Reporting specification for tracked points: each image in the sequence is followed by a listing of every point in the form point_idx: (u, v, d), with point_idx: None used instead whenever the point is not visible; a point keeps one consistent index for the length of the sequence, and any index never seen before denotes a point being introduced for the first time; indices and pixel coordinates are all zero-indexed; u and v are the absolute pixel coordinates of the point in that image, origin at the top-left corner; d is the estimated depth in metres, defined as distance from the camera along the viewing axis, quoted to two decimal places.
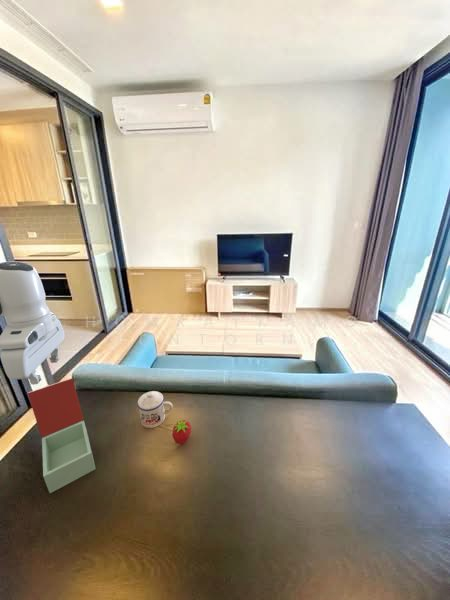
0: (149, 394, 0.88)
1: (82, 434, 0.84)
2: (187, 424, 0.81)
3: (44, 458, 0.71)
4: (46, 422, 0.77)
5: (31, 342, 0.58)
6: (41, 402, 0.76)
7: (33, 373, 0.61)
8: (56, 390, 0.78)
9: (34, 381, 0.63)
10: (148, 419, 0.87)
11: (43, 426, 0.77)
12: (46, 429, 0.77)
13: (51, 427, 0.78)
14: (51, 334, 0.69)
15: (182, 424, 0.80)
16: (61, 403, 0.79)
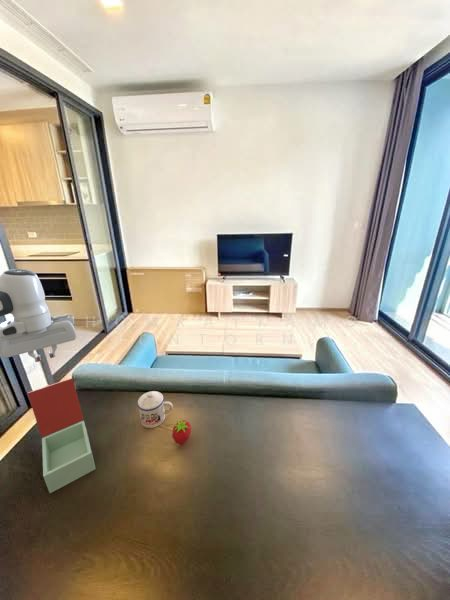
0: (149, 394, 0.88)
1: (82, 434, 0.84)
2: (187, 424, 0.81)
3: (44, 458, 0.71)
4: (46, 422, 0.77)
5: (6, 334, 0.72)
6: (41, 402, 0.76)
7: (29, 353, 0.78)
8: (56, 390, 0.78)
9: (35, 359, 0.80)
10: (148, 419, 0.87)
11: (43, 426, 0.77)
12: (46, 429, 0.77)
13: (51, 427, 0.78)
14: (53, 332, 0.80)
15: (182, 424, 0.80)
16: (61, 403, 0.79)
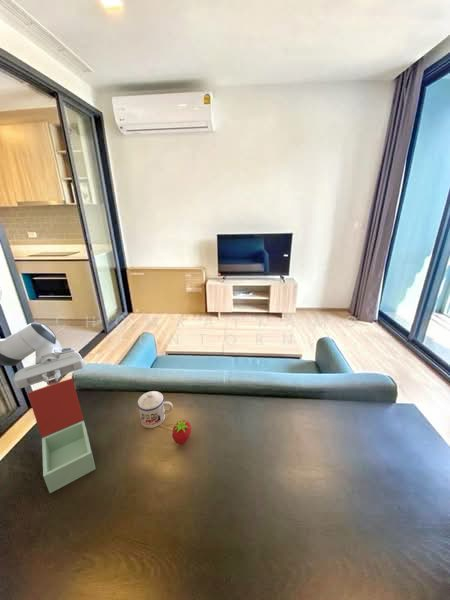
0: (149, 394, 0.88)
1: (82, 434, 0.84)
2: (187, 424, 0.81)
3: (44, 458, 0.71)
4: (46, 422, 0.77)
5: None
6: (41, 402, 0.76)
7: None
8: (56, 390, 0.78)
9: (57, 378, 0.84)
10: (148, 419, 0.87)
11: (43, 426, 0.77)
12: (46, 429, 0.77)
13: (51, 427, 0.78)
14: None
15: (182, 424, 0.80)
16: (61, 403, 0.79)
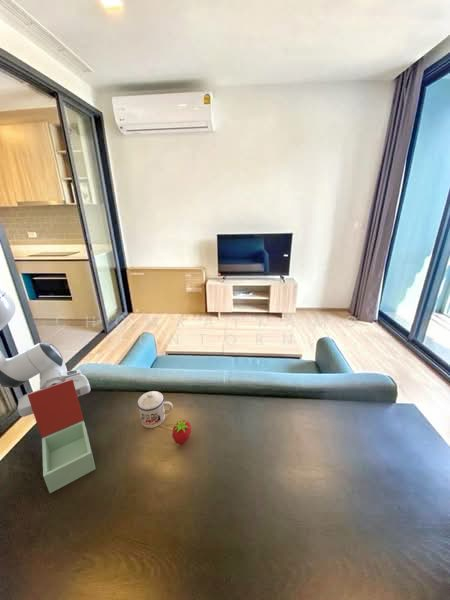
0: (149, 394, 0.88)
1: (82, 434, 0.84)
2: (187, 424, 0.81)
3: (44, 458, 0.71)
4: (46, 423, 0.77)
5: None
6: (41, 403, 0.75)
7: None
8: (56, 391, 0.77)
9: None
10: (148, 419, 0.87)
11: (43, 426, 0.77)
12: (46, 429, 0.77)
13: (51, 427, 0.78)
14: None
15: (182, 424, 0.80)
16: (62, 403, 0.79)
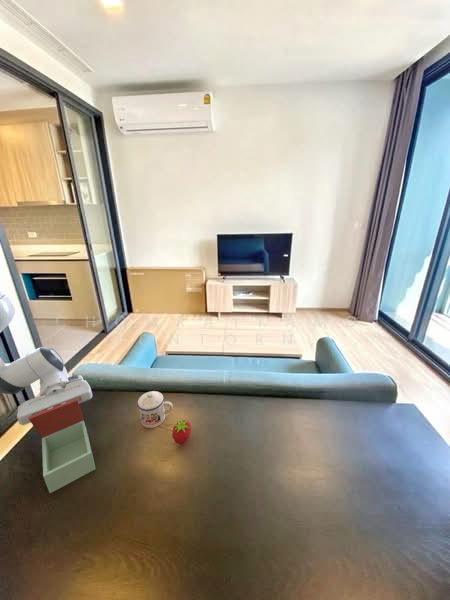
0: (149, 394, 0.88)
1: (82, 434, 0.84)
2: (187, 424, 0.81)
3: (44, 458, 0.71)
4: (46, 430, 0.75)
5: None
6: (43, 420, 0.71)
7: None
8: (59, 411, 0.72)
9: None
10: (148, 419, 0.87)
11: (44, 432, 0.75)
12: (47, 433, 0.77)
13: (52, 431, 0.77)
14: None
15: (182, 424, 0.80)
16: (64, 416, 0.75)
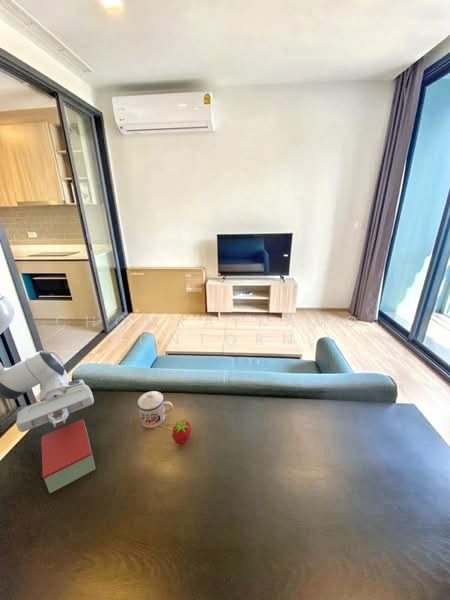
0: (149, 394, 0.88)
1: None
2: (187, 424, 0.81)
3: None
4: None
5: None
6: None
7: None
8: None
9: (64, 419, 0.75)
10: (148, 419, 0.87)
11: None
12: None
13: None
14: None
15: (182, 424, 0.80)
16: None
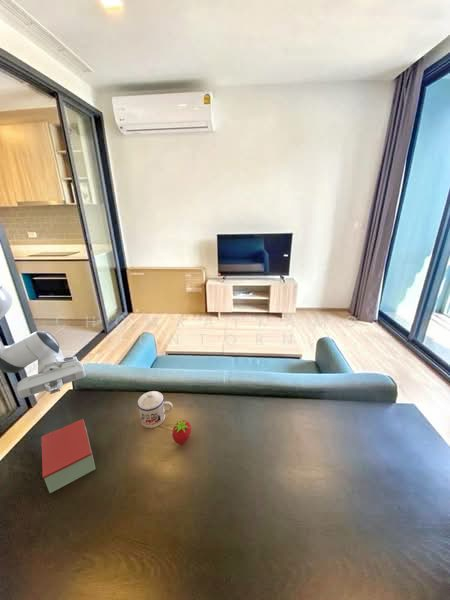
0: (149, 394, 0.88)
1: None
2: (187, 424, 0.81)
3: None
4: None
5: None
6: None
7: None
8: None
9: (59, 388, 0.86)
10: (148, 419, 0.87)
11: None
12: None
13: None
14: None
15: (182, 424, 0.80)
16: None
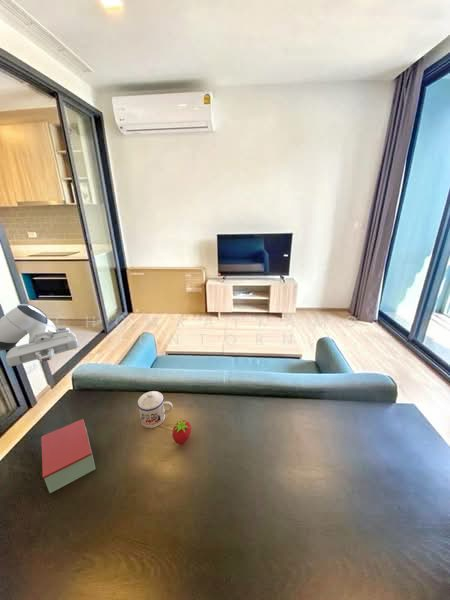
0: (149, 394, 0.88)
1: None
2: (187, 424, 0.81)
3: None
4: None
5: None
6: None
7: None
8: None
9: (50, 356, 0.82)
10: (148, 419, 0.87)
11: None
12: None
13: None
14: None
15: (182, 424, 0.80)
16: None
